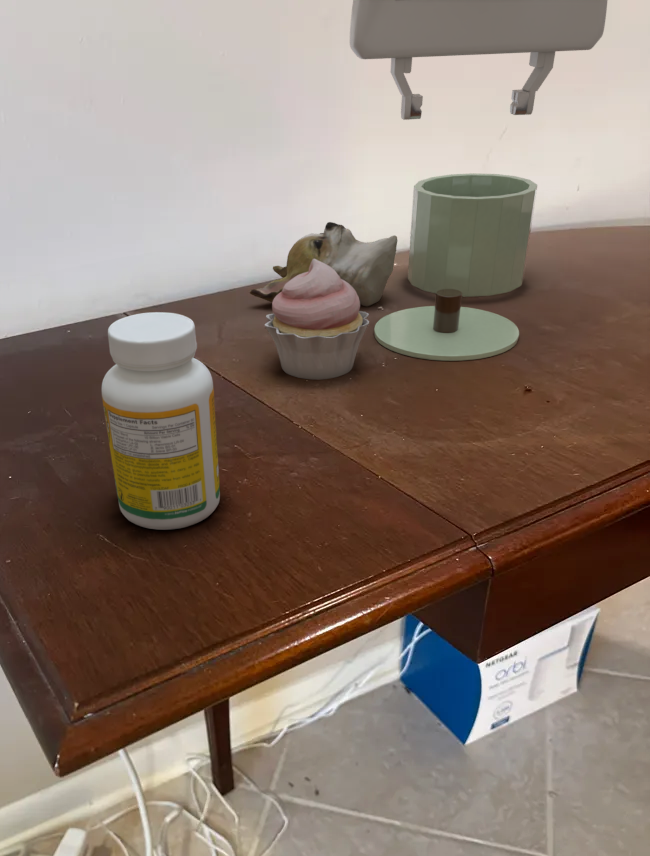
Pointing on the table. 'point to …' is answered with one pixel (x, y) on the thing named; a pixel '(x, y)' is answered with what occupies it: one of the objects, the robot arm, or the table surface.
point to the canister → (470, 233)
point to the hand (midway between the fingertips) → (465, 116)
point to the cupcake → (317, 324)
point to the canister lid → (446, 331)
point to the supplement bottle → (161, 422)
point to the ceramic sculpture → (339, 262)
